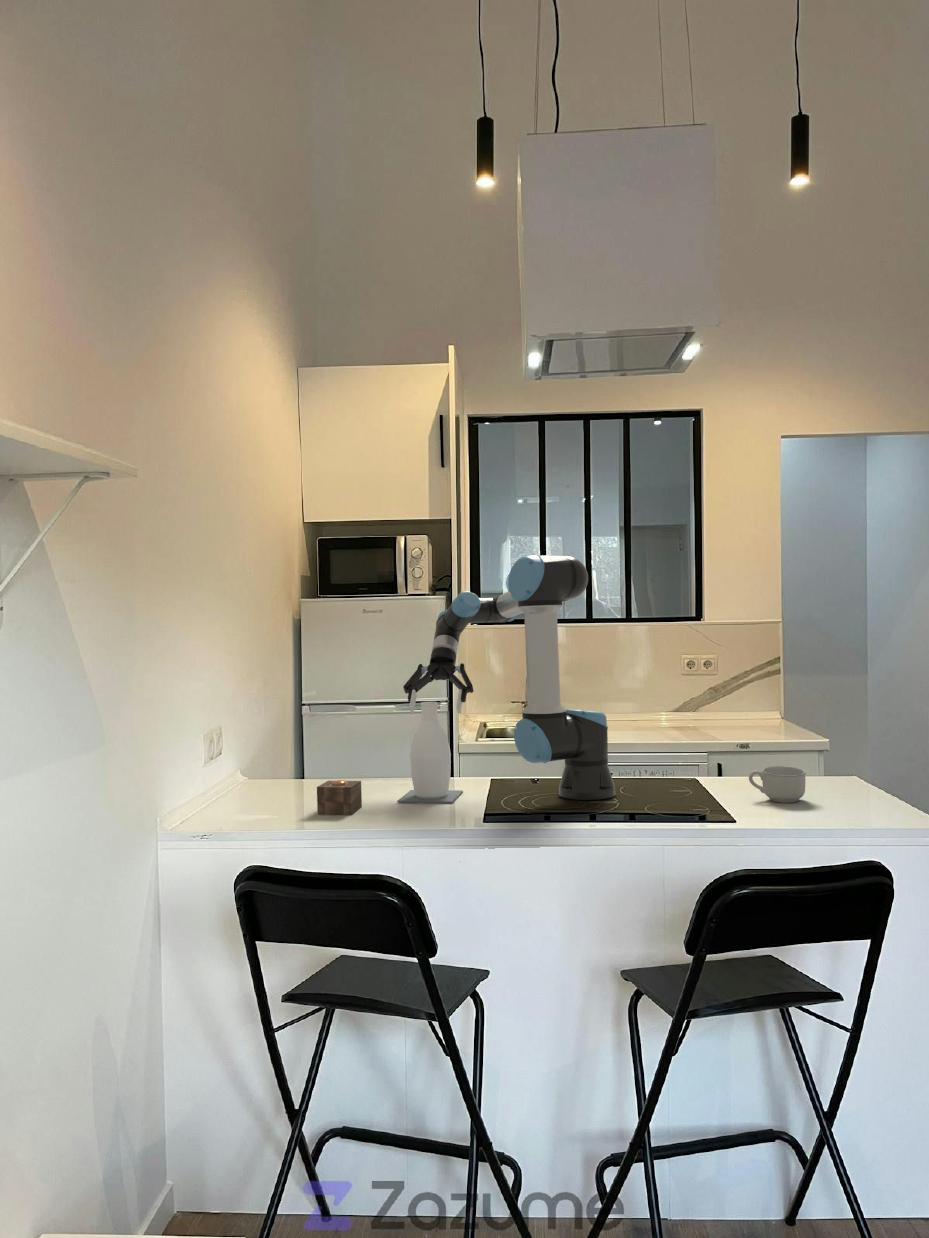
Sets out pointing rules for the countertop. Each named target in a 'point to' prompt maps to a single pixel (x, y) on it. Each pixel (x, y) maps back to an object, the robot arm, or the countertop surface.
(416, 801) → the mat
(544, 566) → the robot arm
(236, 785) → the countertop surface
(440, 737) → the bottle
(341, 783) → the release button
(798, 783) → the teacup
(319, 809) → the button housing
